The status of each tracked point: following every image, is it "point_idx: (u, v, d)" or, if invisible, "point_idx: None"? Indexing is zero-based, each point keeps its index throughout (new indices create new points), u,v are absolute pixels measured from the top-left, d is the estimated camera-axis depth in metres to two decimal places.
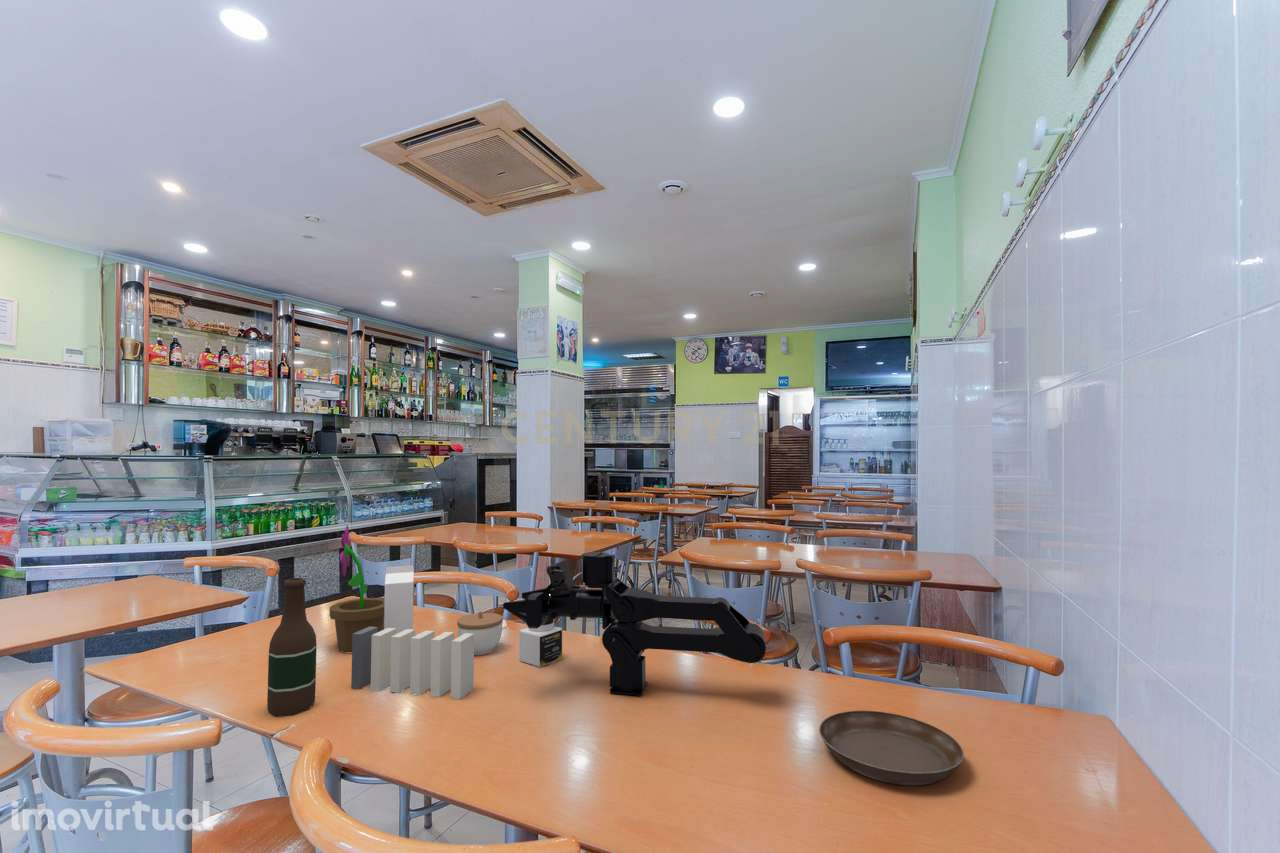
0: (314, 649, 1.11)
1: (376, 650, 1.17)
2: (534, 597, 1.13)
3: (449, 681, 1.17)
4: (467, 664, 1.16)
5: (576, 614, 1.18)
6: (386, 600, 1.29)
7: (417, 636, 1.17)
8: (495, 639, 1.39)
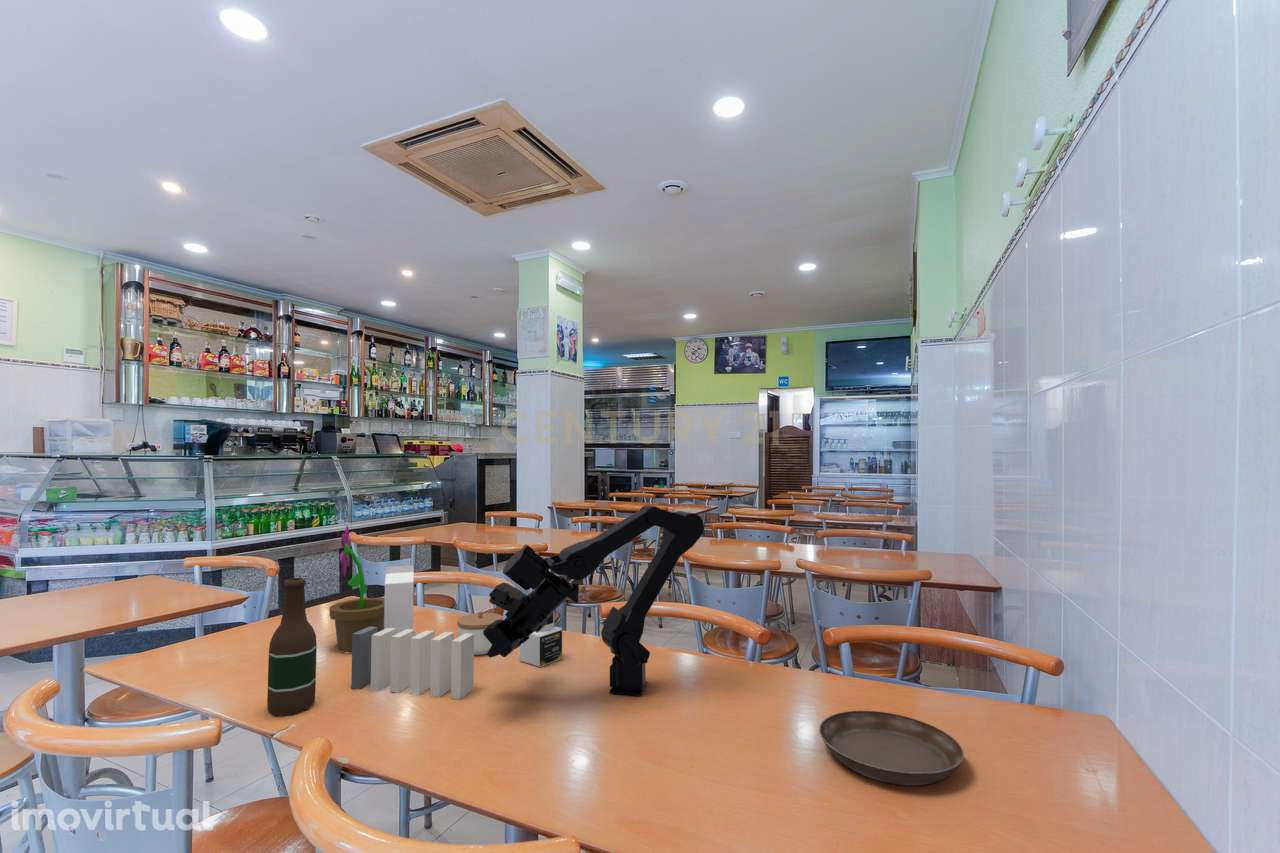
0: (314, 649, 1.11)
1: (376, 650, 1.17)
2: (487, 627, 1.05)
3: (449, 681, 1.17)
4: (467, 664, 1.16)
5: (542, 614, 1.10)
6: (386, 600, 1.29)
7: (417, 636, 1.17)
8: None
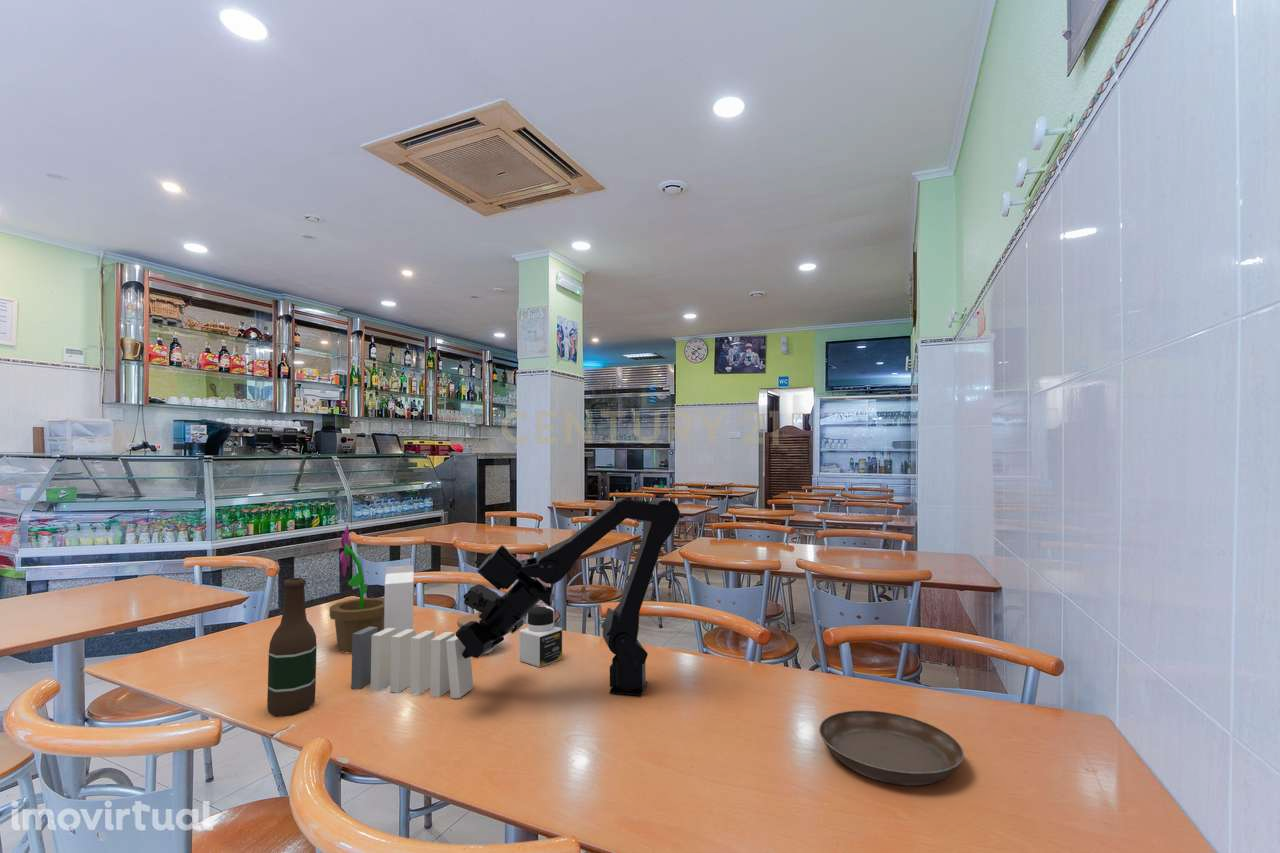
0: (314, 649, 1.11)
1: (376, 650, 1.17)
2: (460, 628, 1.07)
3: None
4: (464, 662, 1.16)
5: (515, 615, 1.12)
6: (386, 600, 1.29)
7: (417, 636, 1.17)
8: None
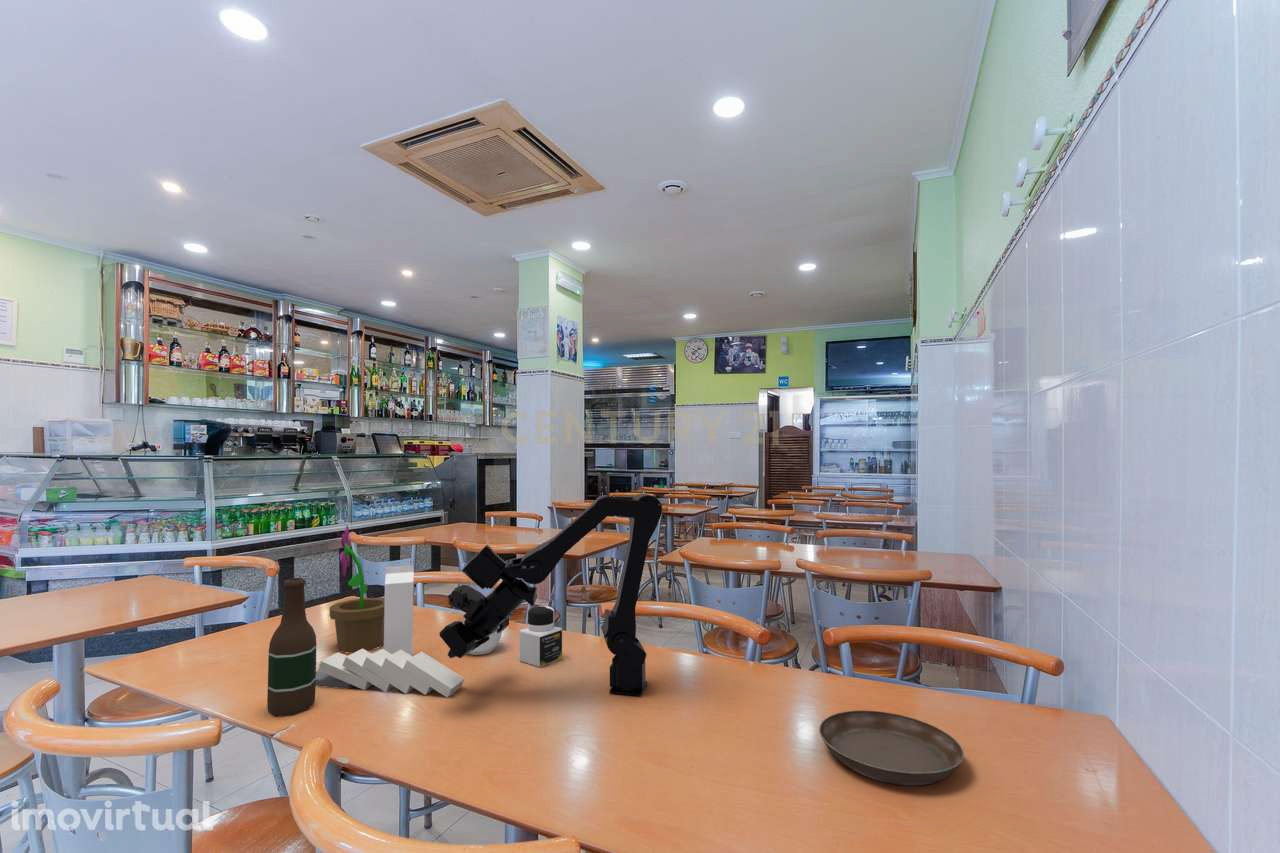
0: (314, 649, 1.11)
1: (332, 669, 1.19)
2: (444, 629, 1.07)
3: None
4: (434, 668, 1.17)
5: (499, 615, 1.12)
6: (386, 600, 1.29)
7: None
8: (495, 639, 1.39)
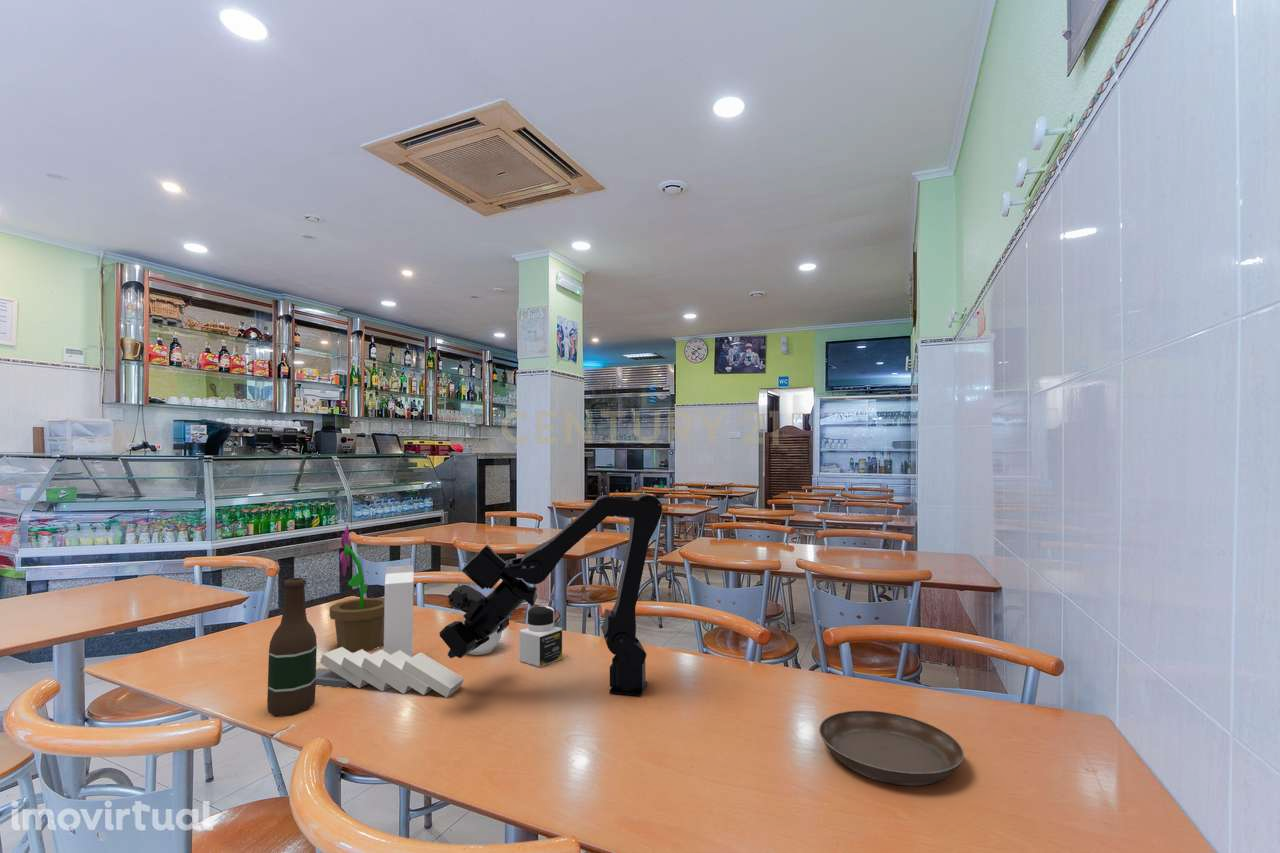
0: (314, 649, 1.11)
1: (332, 663, 1.20)
2: (444, 629, 1.07)
3: None
4: (433, 669, 1.17)
5: (499, 615, 1.12)
6: (386, 600, 1.29)
7: None
8: (495, 639, 1.39)
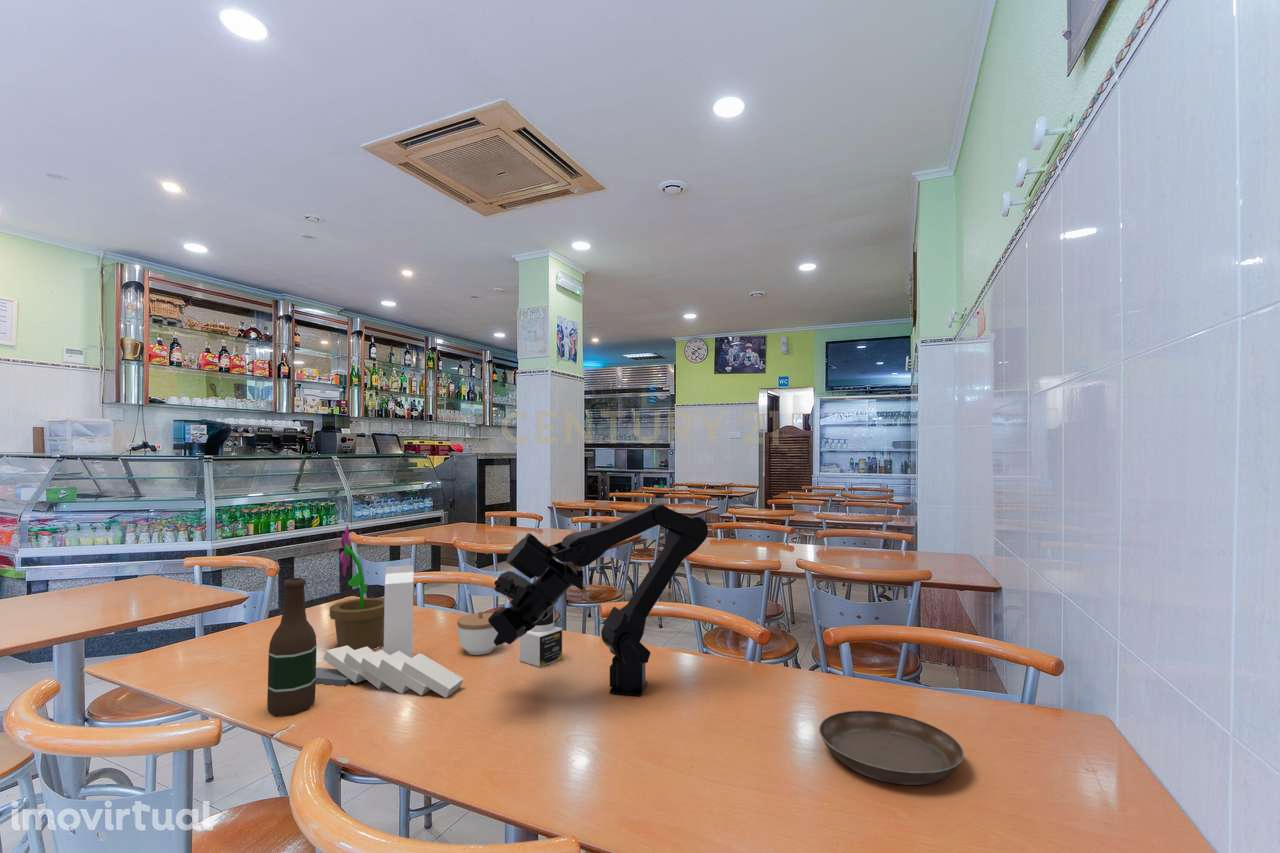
0: (314, 649, 1.11)
1: (333, 659, 1.23)
2: (492, 615, 1.06)
3: None
4: (433, 669, 1.17)
5: (547, 601, 1.10)
6: (386, 600, 1.29)
7: None
8: None
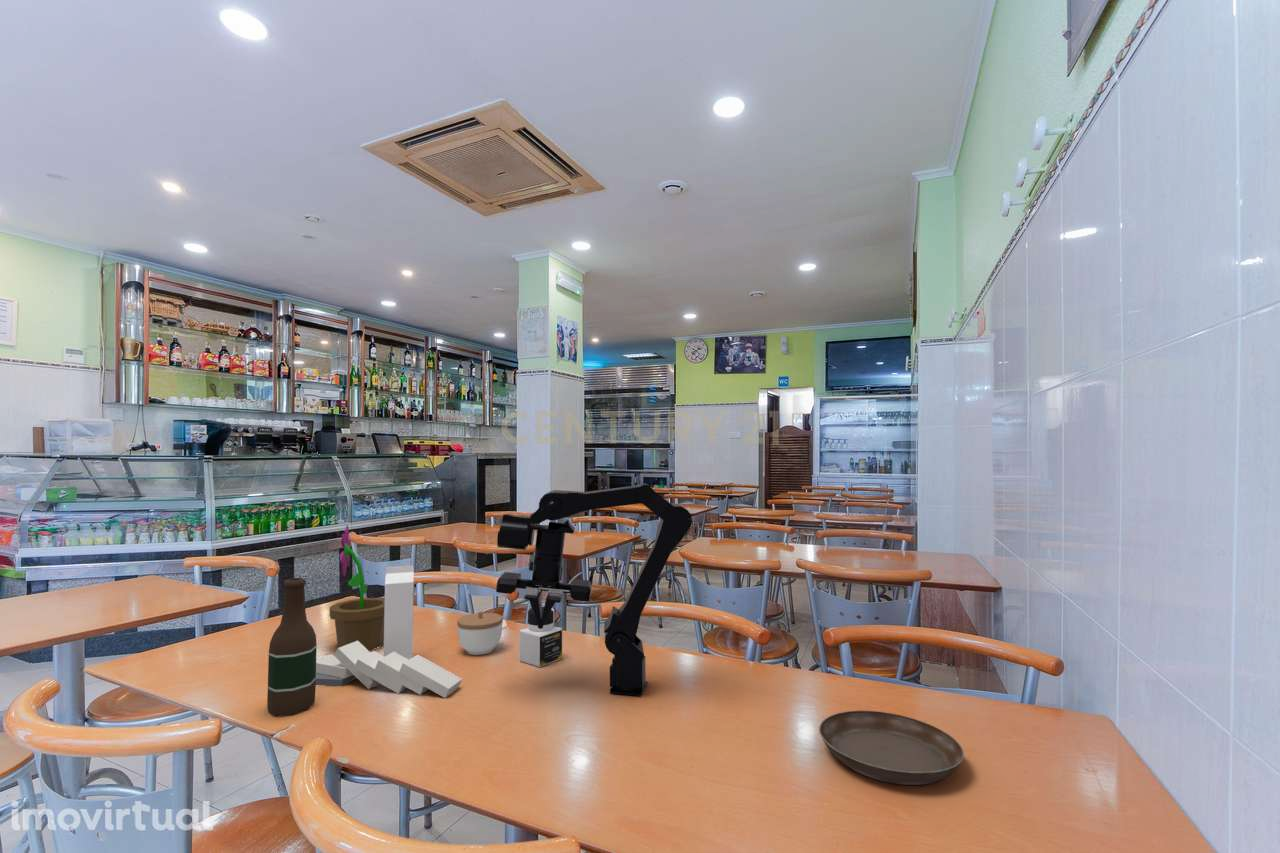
0: (314, 649, 1.11)
1: (317, 666, 1.23)
2: None
3: None
4: (431, 670, 1.17)
5: (536, 556, 1.16)
6: (386, 600, 1.29)
7: None
8: (495, 639, 1.39)
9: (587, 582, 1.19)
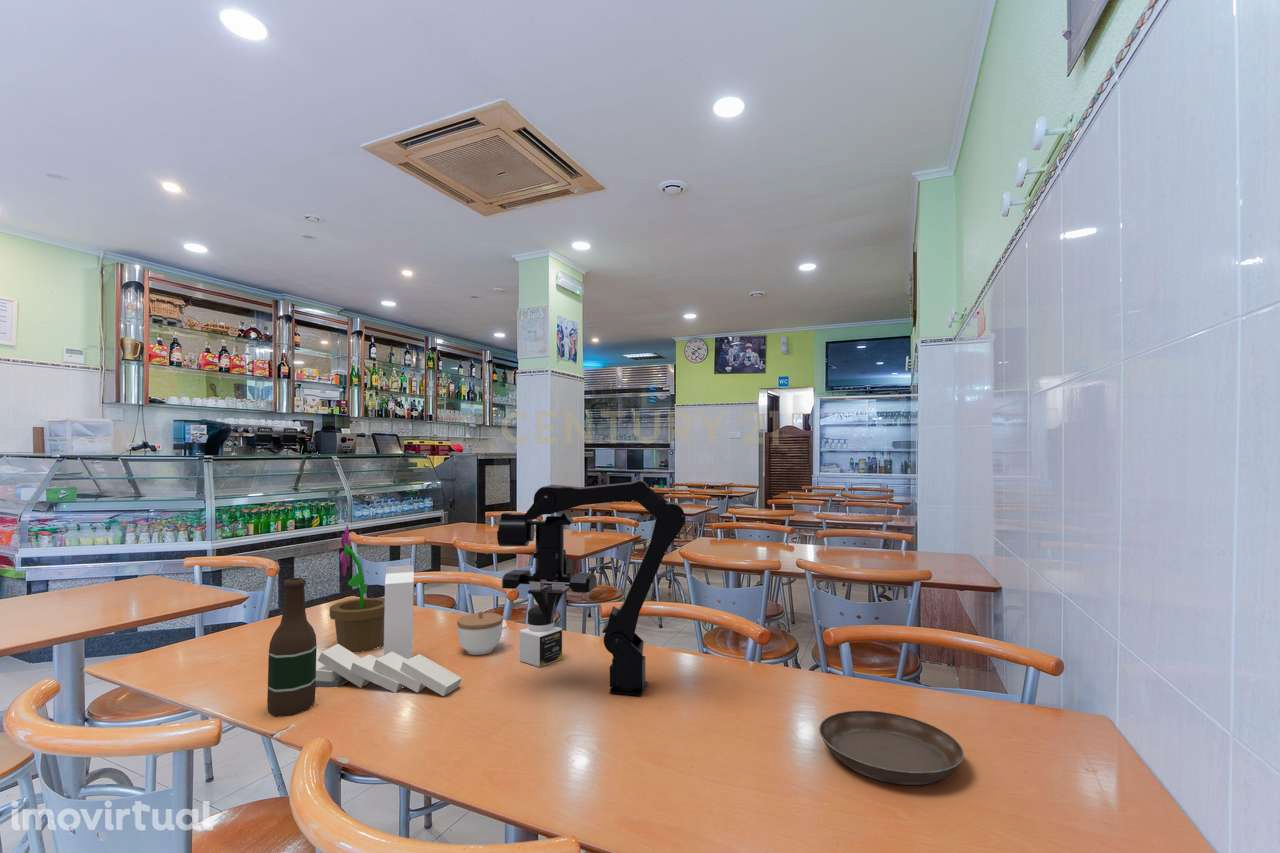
0: (314, 649, 1.11)
1: None
2: None
3: None
4: (431, 669, 1.18)
5: (536, 550, 1.18)
6: (386, 600, 1.29)
7: None
8: (495, 639, 1.39)
9: (589, 574, 1.18)
